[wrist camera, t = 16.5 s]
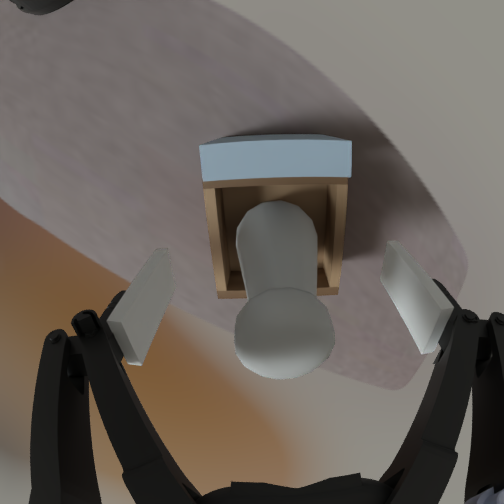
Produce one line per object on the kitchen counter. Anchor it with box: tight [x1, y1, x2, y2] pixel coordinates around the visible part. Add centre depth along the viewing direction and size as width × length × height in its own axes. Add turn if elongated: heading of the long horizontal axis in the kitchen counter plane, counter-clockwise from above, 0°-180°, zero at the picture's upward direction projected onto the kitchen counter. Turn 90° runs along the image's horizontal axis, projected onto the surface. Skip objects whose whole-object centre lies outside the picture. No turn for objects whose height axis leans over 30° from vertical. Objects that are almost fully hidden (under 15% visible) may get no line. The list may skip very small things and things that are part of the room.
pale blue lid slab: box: [199, 134, 352, 182], centre depth 17 cm, size 2×8×8 cm, turn 94°
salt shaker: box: [234, 200, 335, 379], centre depth 16 cm, size 6×6×13 cm
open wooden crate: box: [202, 177, 348, 299], centre depth 21 cm, size 10×10×5 cm
